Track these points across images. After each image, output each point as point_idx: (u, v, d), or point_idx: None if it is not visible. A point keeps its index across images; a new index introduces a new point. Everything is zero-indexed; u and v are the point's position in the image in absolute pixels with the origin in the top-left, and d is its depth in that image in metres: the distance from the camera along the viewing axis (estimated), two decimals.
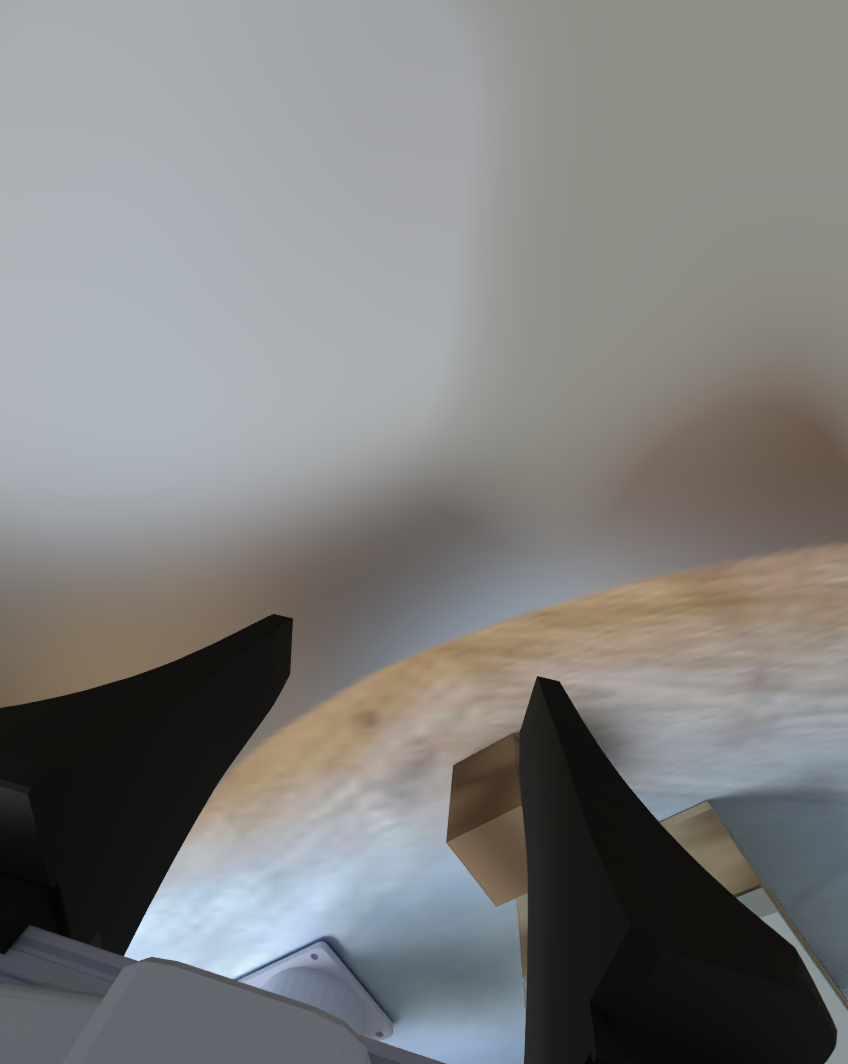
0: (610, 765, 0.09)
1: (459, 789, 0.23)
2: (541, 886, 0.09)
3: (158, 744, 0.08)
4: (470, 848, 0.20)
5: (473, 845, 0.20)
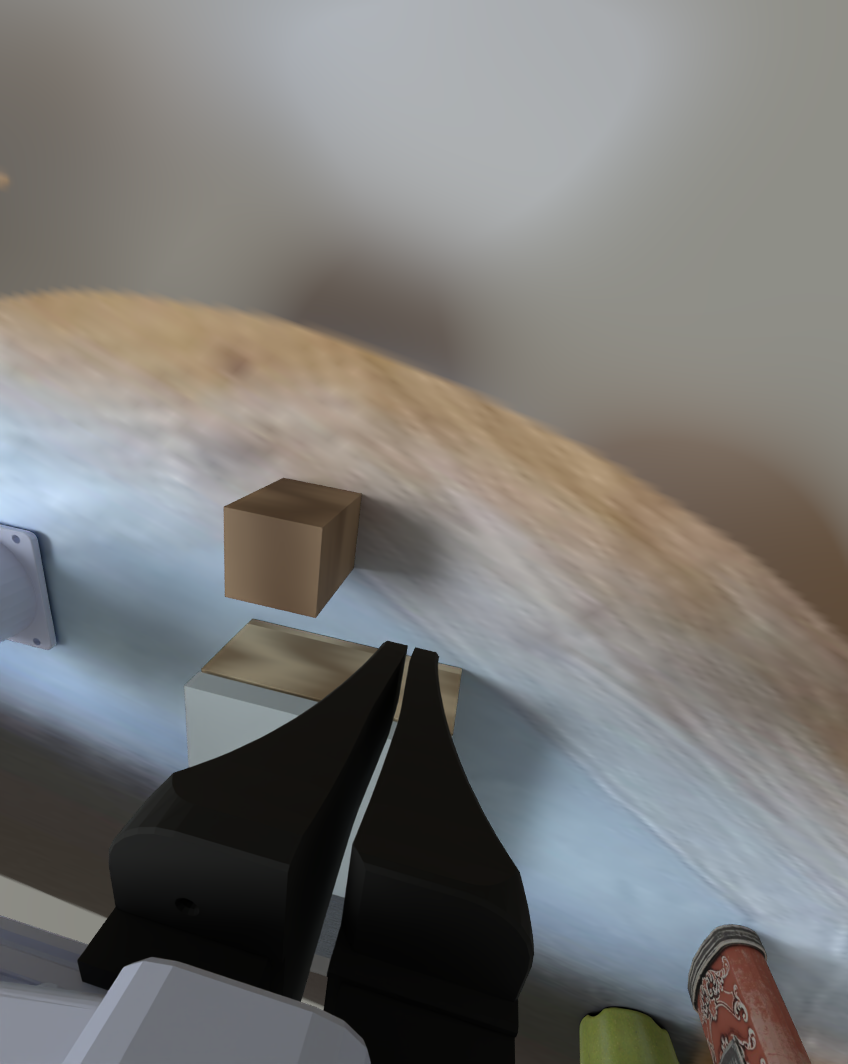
0: (442, 723, 0.09)
1: (273, 490, 0.20)
2: None
3: (340, 794, 0.07)
4: (242, 529, 0.17)
5: (248, 529, 0.17)
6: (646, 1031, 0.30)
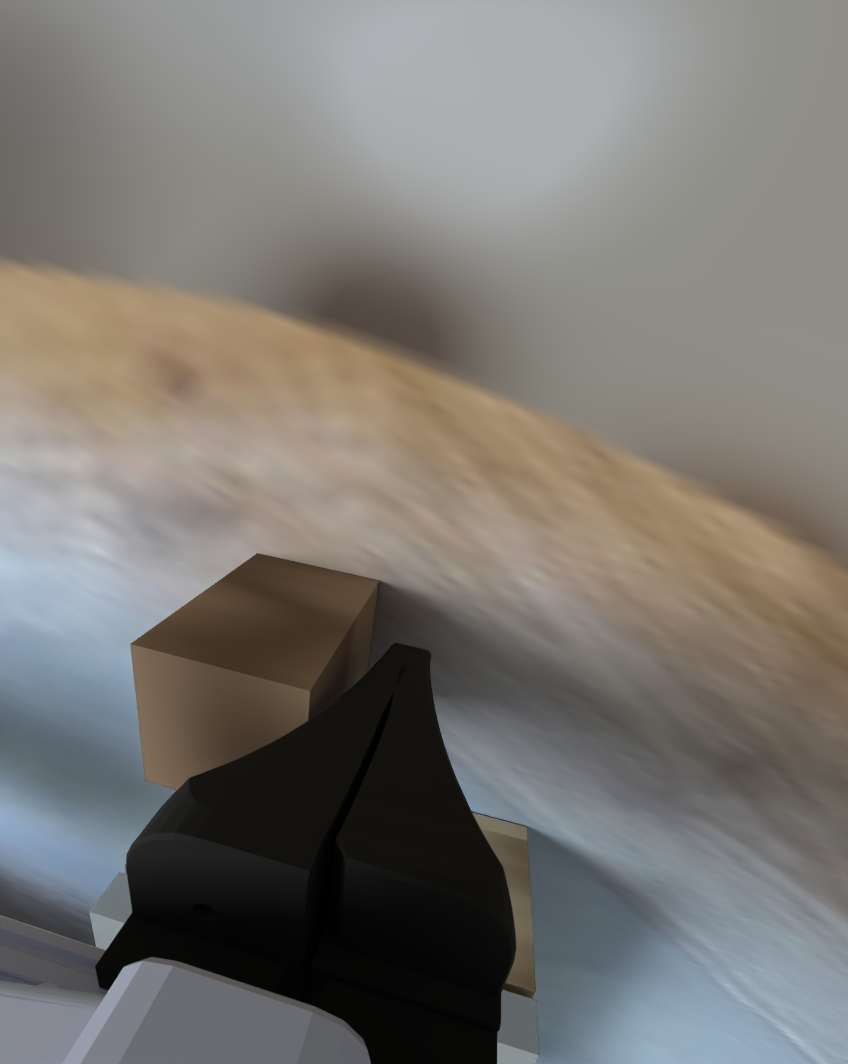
0: (432, 720, 0.09)
1: (235, 587, 0.12)
2: None
3: (354, 798, 0.07)
4: (166, 683, 0.09)
5: (177, 682, 0.09)
6: None
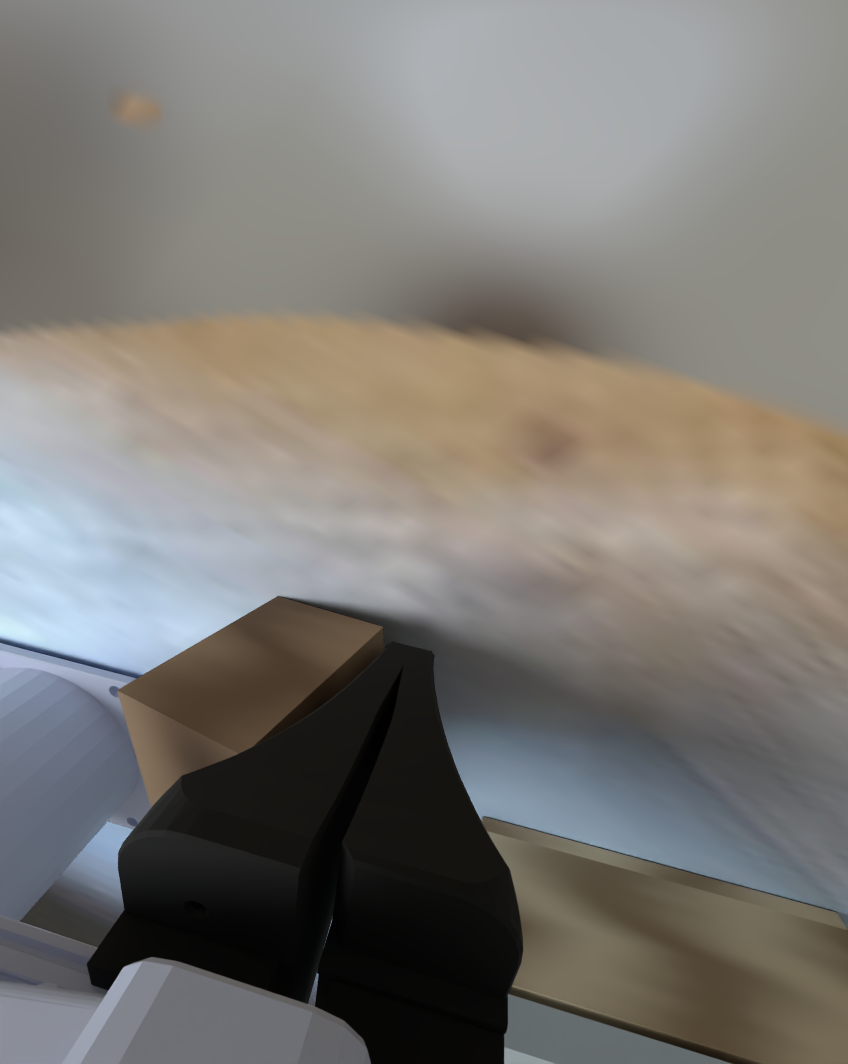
0: (436, 721, 0.09)
1: (237, 633, 0.12)
2: None
3: (347, 796, 0.07)
4: (146, 729, 0.10)
5: (152, 730, 0.10)
6: None
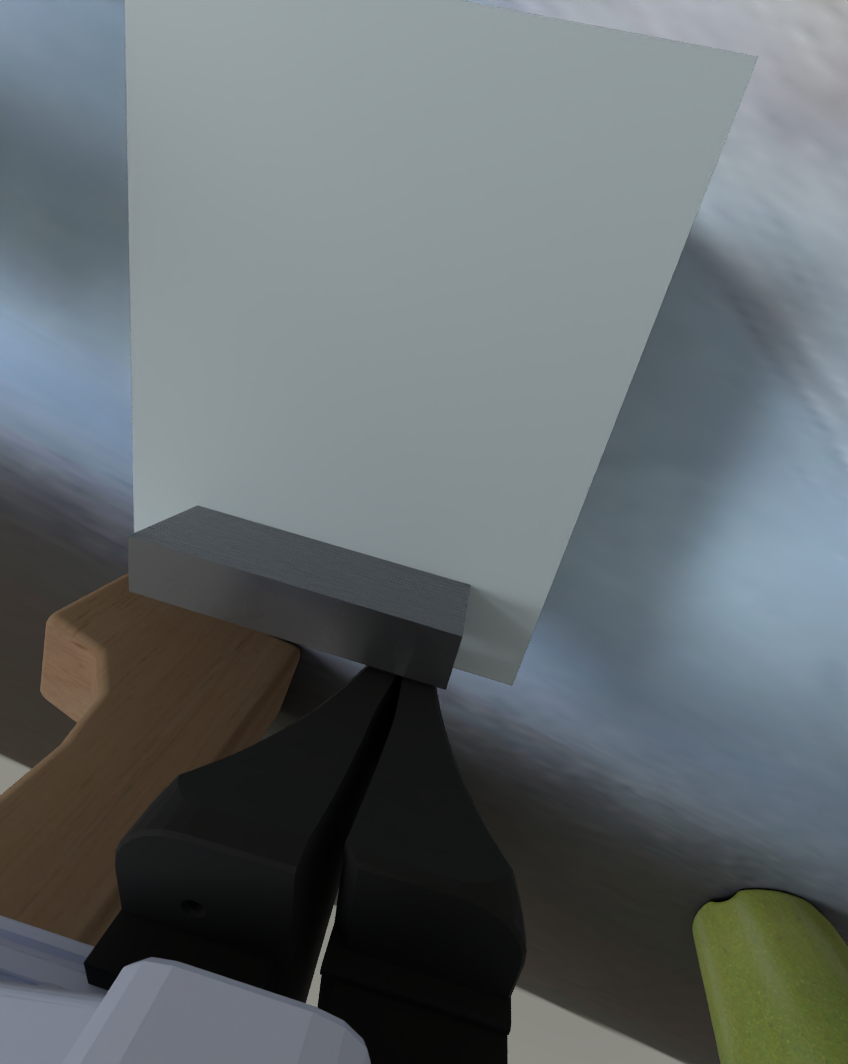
0: (438, 721, 0.09)
1: None
2: None
3: (345, 796, 0.07)
4: None
5: None
6: (812, 919, 0.20)
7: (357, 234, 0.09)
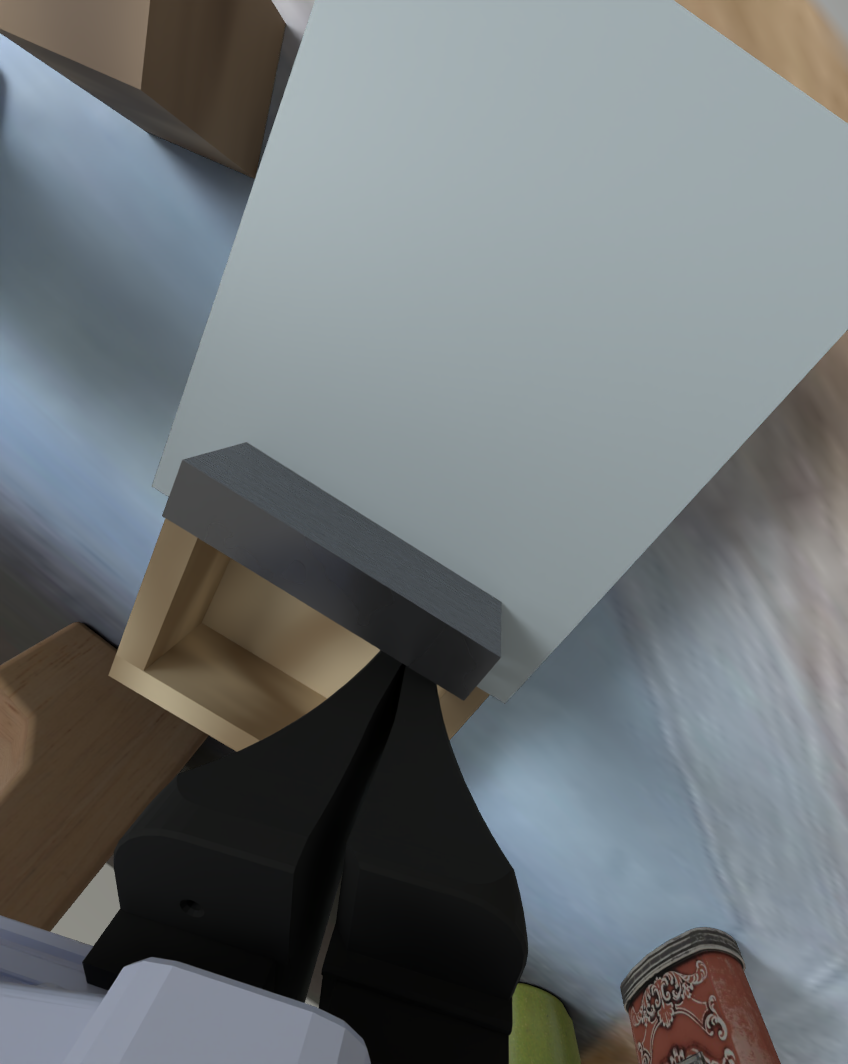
0: (439, 722, 0.09)
1: None
2: None
3: (344, 795, 0.07)
4: None
5: None
6: (557, 1017, 0.26)
7: (520, 226, 0.09)
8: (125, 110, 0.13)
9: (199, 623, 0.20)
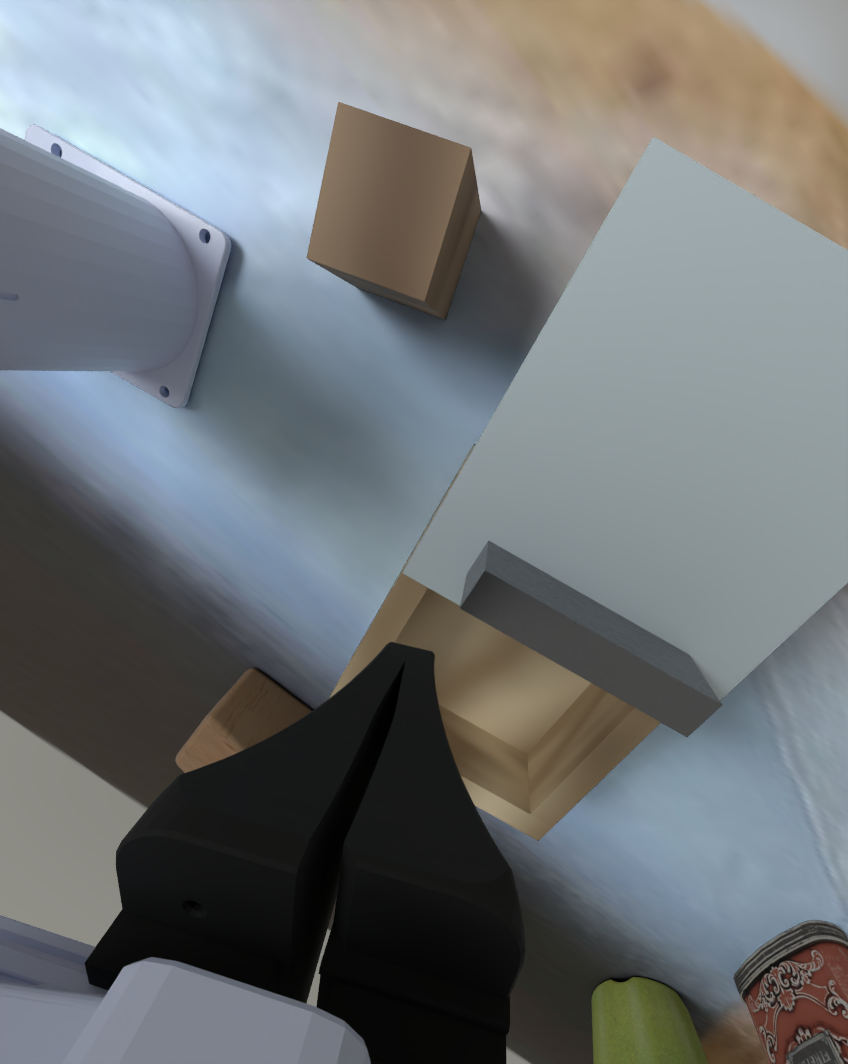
0: (437, 721, 0.09)
1: None
2: None
3: (346, 796, 0.07)
4: (356, 144, 0.13)
5: (365, 144, 0.13)
6: (677, 1007, 0.28)
7: (729, 393, 0.12)
8: (363, 286, 0.17)
9: None
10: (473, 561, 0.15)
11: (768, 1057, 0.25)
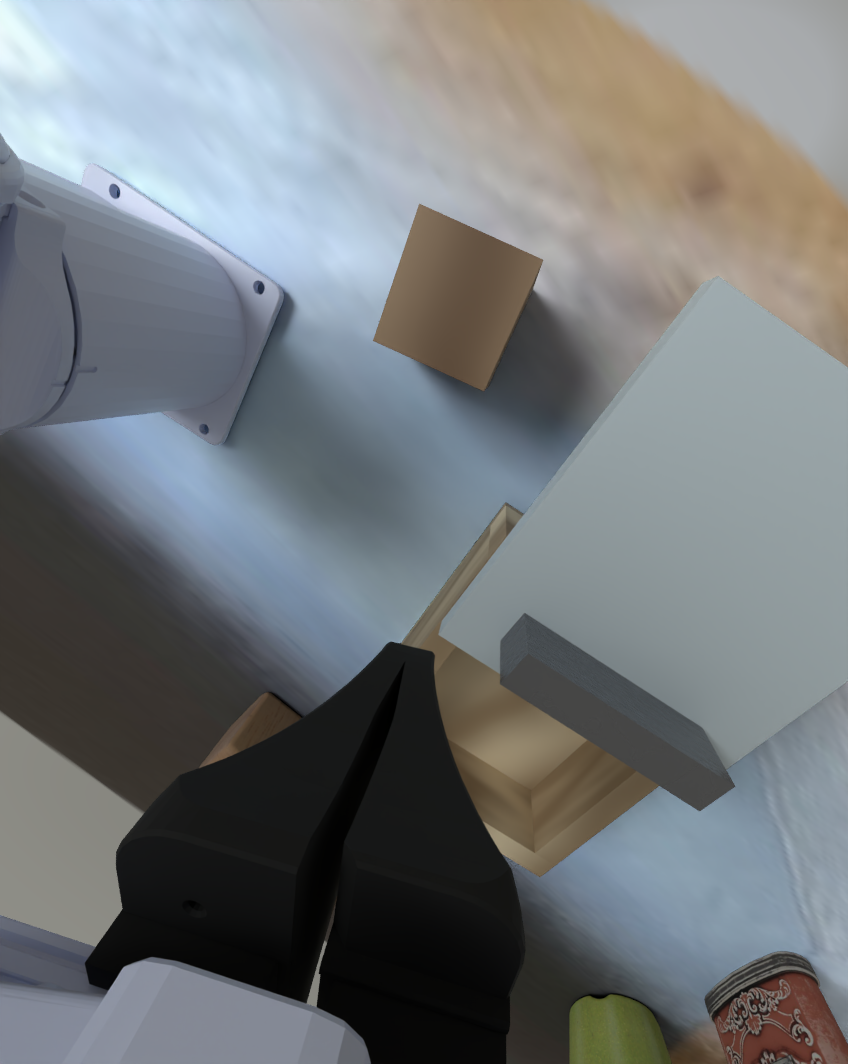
0: (437, 721, 0.09)
1: None
2: None
3: (346, 796, 0.07)
4: (433, 244, 0.13)
5: (441, 244, 0.13)
6: (650, 1024, 0.30)
7: (763, 504, 0.13)
8: None
9: None
10: (508, 630, 0.16)
11: None
